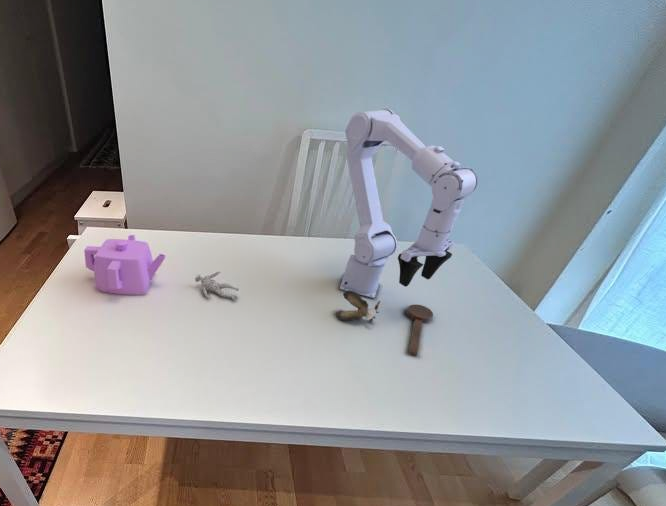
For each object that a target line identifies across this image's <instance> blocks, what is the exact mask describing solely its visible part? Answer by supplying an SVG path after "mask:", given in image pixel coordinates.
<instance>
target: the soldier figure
mask: <svg viewBox="0 0 666 506" xmlns="http://www.w3.org/2000/svg"><path fill="white" fill-rule="evenodd" d="M219 274H222V272H221V271H216V272H214V273H211V274H208V275H204V277H203V276H202V275H201V274H196V276H195V278H194V281H195V282H196V283H198V282H200V287H201V289H202V292H203V295H204V296H205V298H207V299H208V298H209V295H208V291H212V292H213V293H215V294H217V295H219V296H220V297H223V298H231V299H232V300H234V299H235V297H236V296H235V295H232V294H229V293H227V292H225V291H223V290H224V289H230V290H234V291H236V292H239V290H240V288H238V287H235V286H234V285H232V284H230V283H223V282H222V283H219V282H217V281H216V280H215V279H213V278H215V277H216V276H219ZM222 289H223V290H222ZM207 290H208V291H207Z"/></svg>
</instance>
